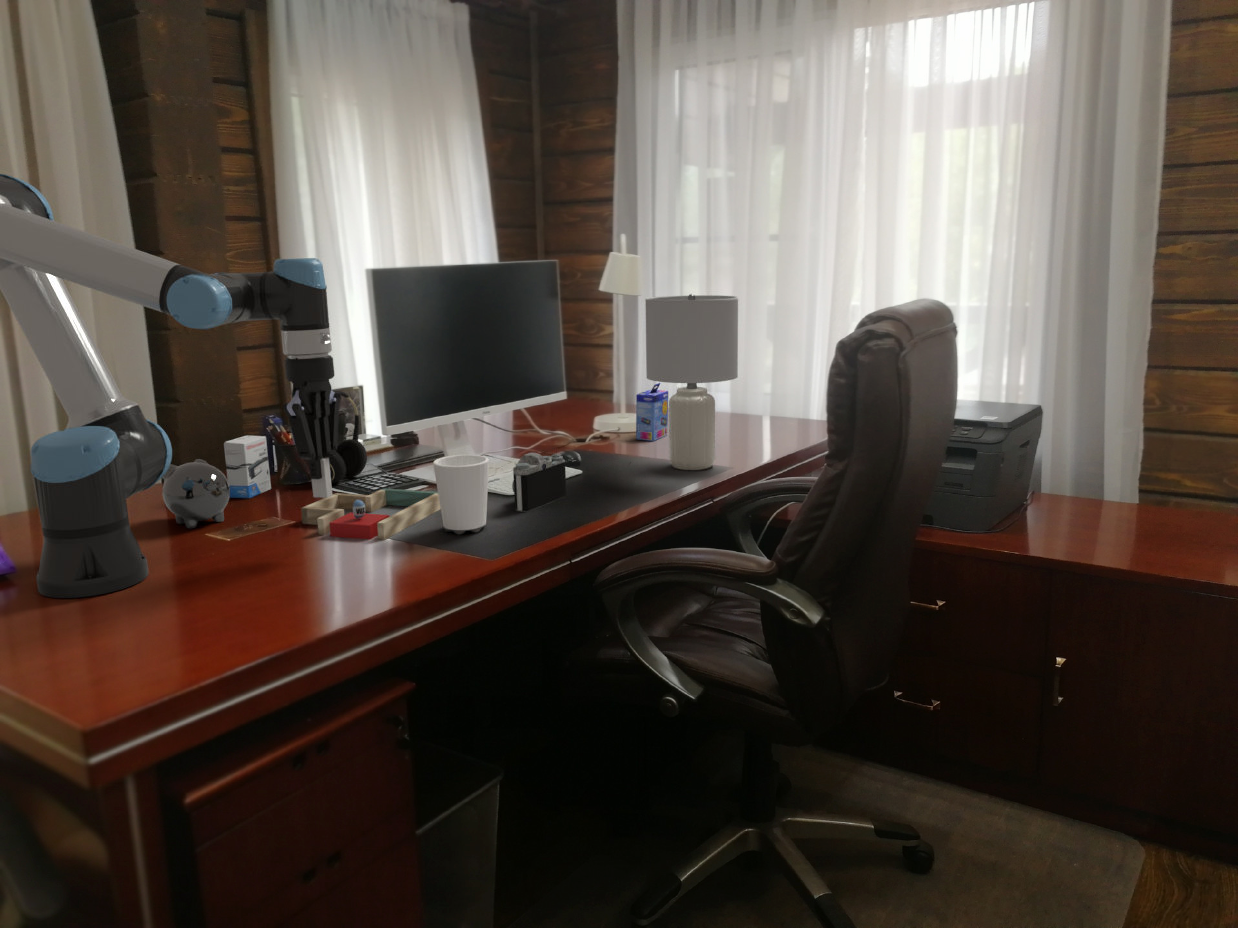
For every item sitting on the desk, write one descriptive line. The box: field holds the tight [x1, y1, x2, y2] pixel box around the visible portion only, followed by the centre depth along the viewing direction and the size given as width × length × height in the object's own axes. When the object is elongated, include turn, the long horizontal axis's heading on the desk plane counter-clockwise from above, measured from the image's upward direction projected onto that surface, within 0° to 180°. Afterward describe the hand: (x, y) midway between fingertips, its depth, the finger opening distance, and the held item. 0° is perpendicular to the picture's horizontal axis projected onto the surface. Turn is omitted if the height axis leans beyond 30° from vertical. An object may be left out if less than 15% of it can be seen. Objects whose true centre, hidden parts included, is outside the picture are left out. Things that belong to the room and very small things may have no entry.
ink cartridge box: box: [635, 382, 669, 442], centre depth 249 cm, size 10×6×14 cm, turn 154°
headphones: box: [329, 390, 368, 484], centre depth 208 cm, size 9×15×20 cm, turn 155°
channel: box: [300, 488, 441, 541], centre depth 178 cm, size 22×21×3 cm
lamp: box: [644, 293, 739, 471], centre depth 212 cm, size 20×20×39 cm
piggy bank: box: [161, 458, 230, 530], centre depth 178 cm, size 11×15×12 cm
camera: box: [511, 452, 567, 513], centre depth 188 cm, size 15×7×10 cm, turn 148°
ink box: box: [223, 435, 272, 499], centre depth 199 cm, size 8×5×12 cm, turn 168°
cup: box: [433, 454, 490, 535], centre depth 170 cm, size 10×10×13 cm
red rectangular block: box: [329, 500, 390, 540], centre depth 170 cm, size 8×7×6 cm
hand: (323, 496), depth 158 cm, fingers closed
